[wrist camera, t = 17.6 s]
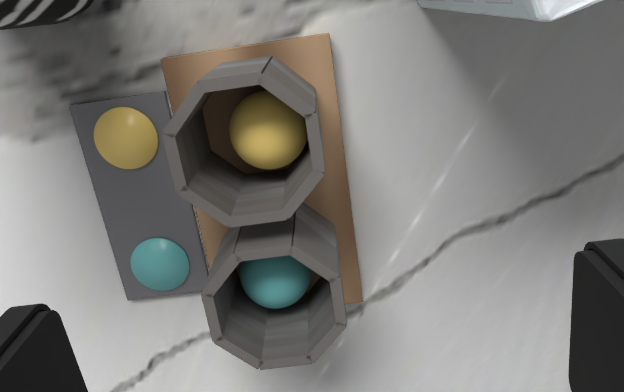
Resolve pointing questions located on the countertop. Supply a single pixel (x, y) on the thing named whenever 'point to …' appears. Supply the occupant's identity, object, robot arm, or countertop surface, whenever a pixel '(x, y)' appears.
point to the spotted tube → (39, 12)
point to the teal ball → (275, 280)
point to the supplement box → (512, 7)
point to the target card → (140, 195)
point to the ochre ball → (267, 131)
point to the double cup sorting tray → (265, 195)
